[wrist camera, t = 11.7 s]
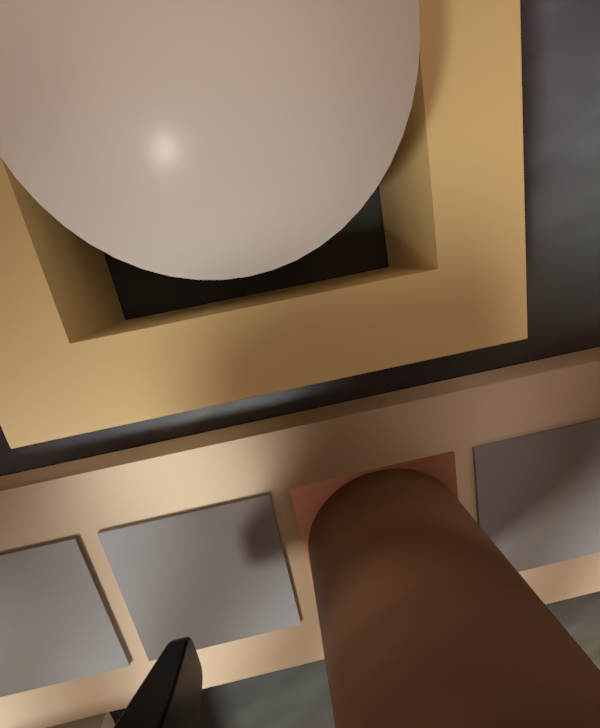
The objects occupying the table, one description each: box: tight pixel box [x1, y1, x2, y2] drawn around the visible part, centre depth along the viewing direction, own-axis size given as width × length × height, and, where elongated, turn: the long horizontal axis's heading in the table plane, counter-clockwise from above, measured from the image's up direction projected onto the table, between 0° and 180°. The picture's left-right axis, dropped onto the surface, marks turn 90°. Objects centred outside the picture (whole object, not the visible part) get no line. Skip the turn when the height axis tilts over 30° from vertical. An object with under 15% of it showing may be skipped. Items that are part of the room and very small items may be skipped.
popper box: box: [0, 0, 528, 449], centre depth 6 cm, size 9×9×2 cm
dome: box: [0, 0, 420, 280], centre depth 6 cm, size 5×5×3 cm
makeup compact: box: [0, 347, 600, 728], centre depth 10 cm, size 18×7×1 cm, turn 101°
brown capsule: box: [308, 469, 600, 728], centre depth 7 cm, size 4×4×5 cm
